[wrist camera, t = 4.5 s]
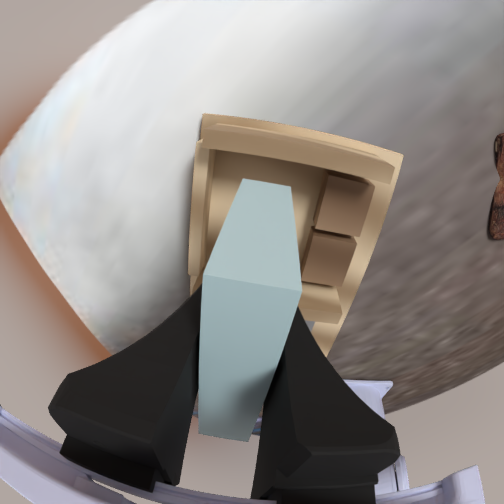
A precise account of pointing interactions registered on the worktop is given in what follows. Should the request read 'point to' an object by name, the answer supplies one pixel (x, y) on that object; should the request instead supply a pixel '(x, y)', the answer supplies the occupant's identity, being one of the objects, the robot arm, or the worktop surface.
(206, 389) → the panel
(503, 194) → the wooden tablet
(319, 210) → the offcut
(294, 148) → the rack
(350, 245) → the offcut
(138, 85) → the worktop surface
